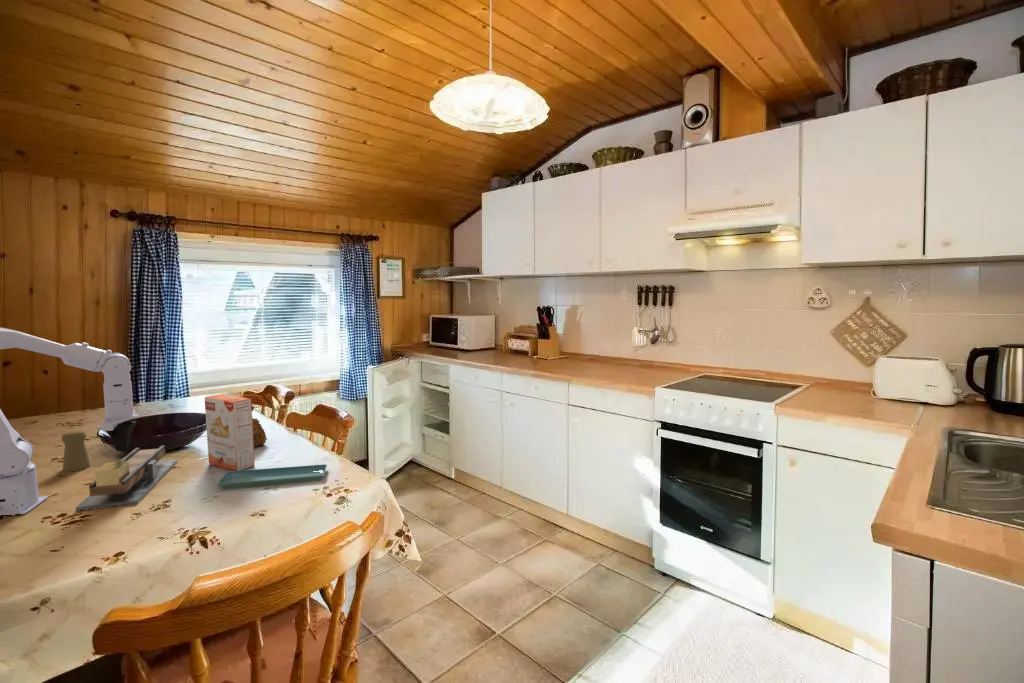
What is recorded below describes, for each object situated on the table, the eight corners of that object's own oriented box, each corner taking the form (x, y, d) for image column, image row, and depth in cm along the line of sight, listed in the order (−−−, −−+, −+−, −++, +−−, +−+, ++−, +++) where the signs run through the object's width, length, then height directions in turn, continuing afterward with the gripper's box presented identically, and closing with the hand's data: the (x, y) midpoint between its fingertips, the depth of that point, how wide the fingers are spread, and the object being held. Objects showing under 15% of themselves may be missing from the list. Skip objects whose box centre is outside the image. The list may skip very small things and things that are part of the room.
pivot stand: (137, 504, 116) (135, 482, 115) (75, 511, 112) (73, 488, 111) (176, 462, 144) (175, 445, 144) (128, 467, 140) (127, 449, 139)
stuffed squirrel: (251, 437, 169) (249, 401, 168) (276, 444, 162) (275, 406, 161) (223, 445, 160) (221, 407, 159) (248, 452, 154) (246, 412, 152)
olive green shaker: (73, 472, 136) (70, 435, 134) (56, 470, 137) (53, 433, 136) (95, 465, 141) (92, 429, 140) (79, 463, 143) (76, 427, 141)
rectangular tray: (327, 470, 140) (327, 462, 140) (324, 482, 131) (324, 473, 131) (227, 479, 133) (226, 471, 132) (217, 493, 124) (216, 483, 124)
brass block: (119, 484, 116) (118, 469, 115) (96, 487, 114) (95, 471, 114) (129, 475, 121) (128, 460, 121) (107, 477, 120) (106, 462, 119)
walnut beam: (125, 492, 116) (124, 481, 116) (90, 496, 113) (89, 485, 113) (165, 454, 142) (164, 445, 142) (137, 456, 140) (136, 447, 139)
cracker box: (207, 464, 143) (203, 396, 140) (227, 458, 148) (223, 392, 146) (235, 473, 136) (232, 401, 134) (255, 466, 141) (252, 397, 139)
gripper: (125, 404, 119) (128, 457, 120) (147, 393, 132) (150, 440, 134) (90, 406, 116) (94, 460, 118) (117, 394, 130) (120, 443, 131)
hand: (122, 450), depth 126 cm, fingers closed
